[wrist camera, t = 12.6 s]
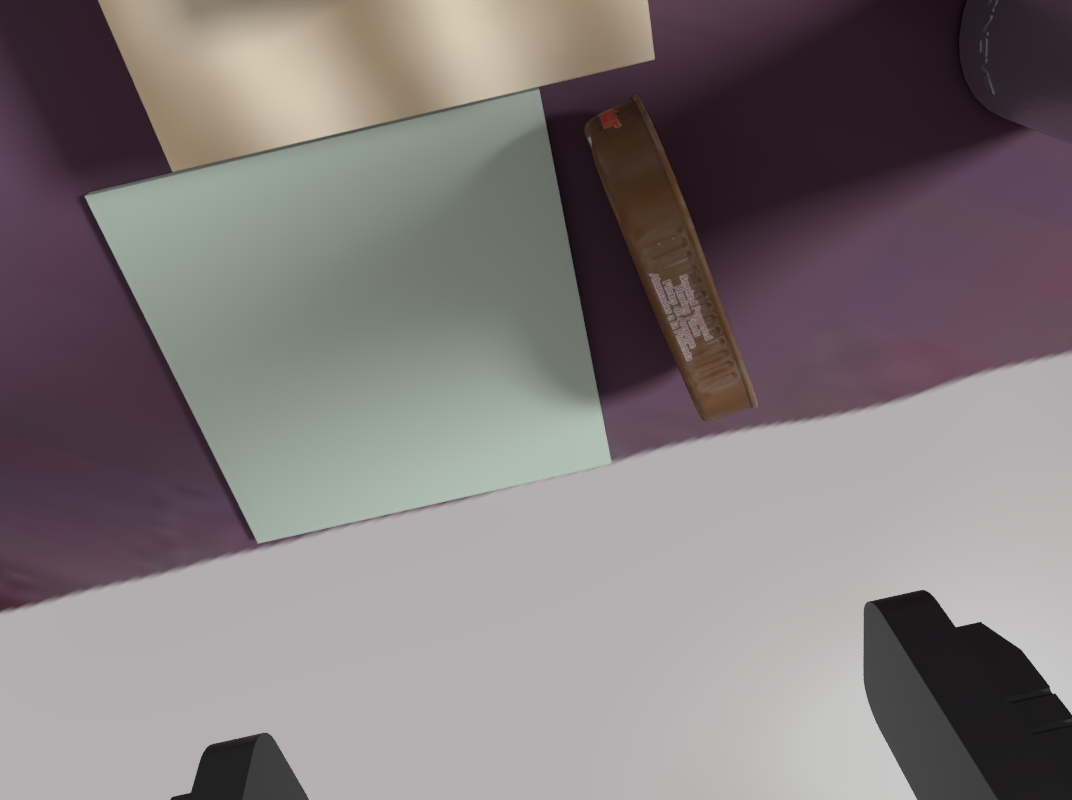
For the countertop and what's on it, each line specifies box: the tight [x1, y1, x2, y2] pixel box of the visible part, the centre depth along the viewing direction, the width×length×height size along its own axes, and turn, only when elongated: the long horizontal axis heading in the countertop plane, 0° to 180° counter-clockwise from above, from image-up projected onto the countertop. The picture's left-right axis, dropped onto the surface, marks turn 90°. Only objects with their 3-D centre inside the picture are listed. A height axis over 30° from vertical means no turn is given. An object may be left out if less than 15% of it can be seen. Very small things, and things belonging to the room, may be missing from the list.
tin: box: [584, 94, 758, 422], centre depth 36 cm, size 15×3×8 cm, turn 24°
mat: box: [85, 87, 612, 543], centre depth 41 cm, size 20×20×1 cm
